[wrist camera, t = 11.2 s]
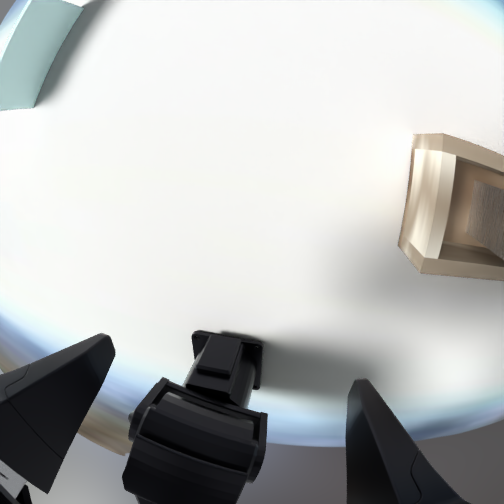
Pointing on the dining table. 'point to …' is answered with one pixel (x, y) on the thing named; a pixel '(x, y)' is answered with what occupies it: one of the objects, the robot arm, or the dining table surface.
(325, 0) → the dining table surface
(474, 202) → the light grey rectangular block
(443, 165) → the beige tray
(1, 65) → the l-shaped corner panel
